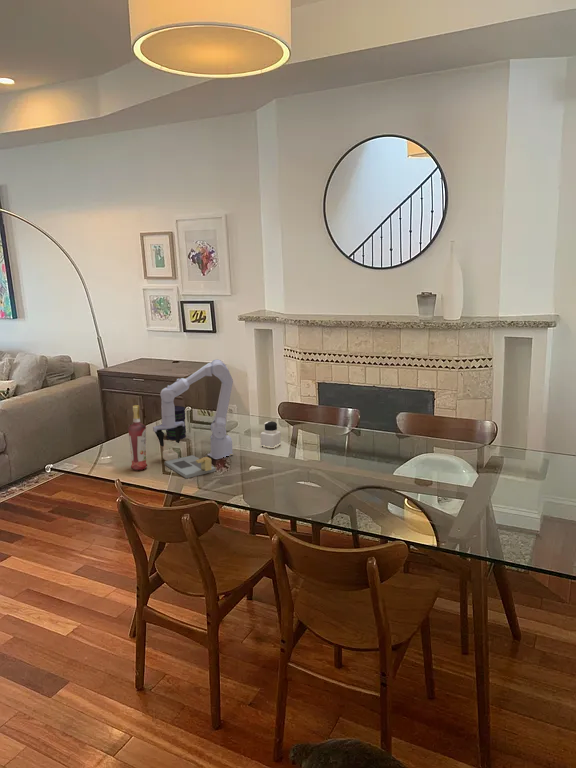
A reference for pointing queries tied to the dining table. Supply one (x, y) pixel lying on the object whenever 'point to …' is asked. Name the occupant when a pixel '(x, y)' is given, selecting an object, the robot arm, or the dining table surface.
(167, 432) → the storage jar
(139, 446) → the liquor
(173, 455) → the cover
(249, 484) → the dining table surface
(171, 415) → the robot arm
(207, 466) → the wooden l-shaped block
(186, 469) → the panel
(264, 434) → the medicine bottle
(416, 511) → the dining table surface
